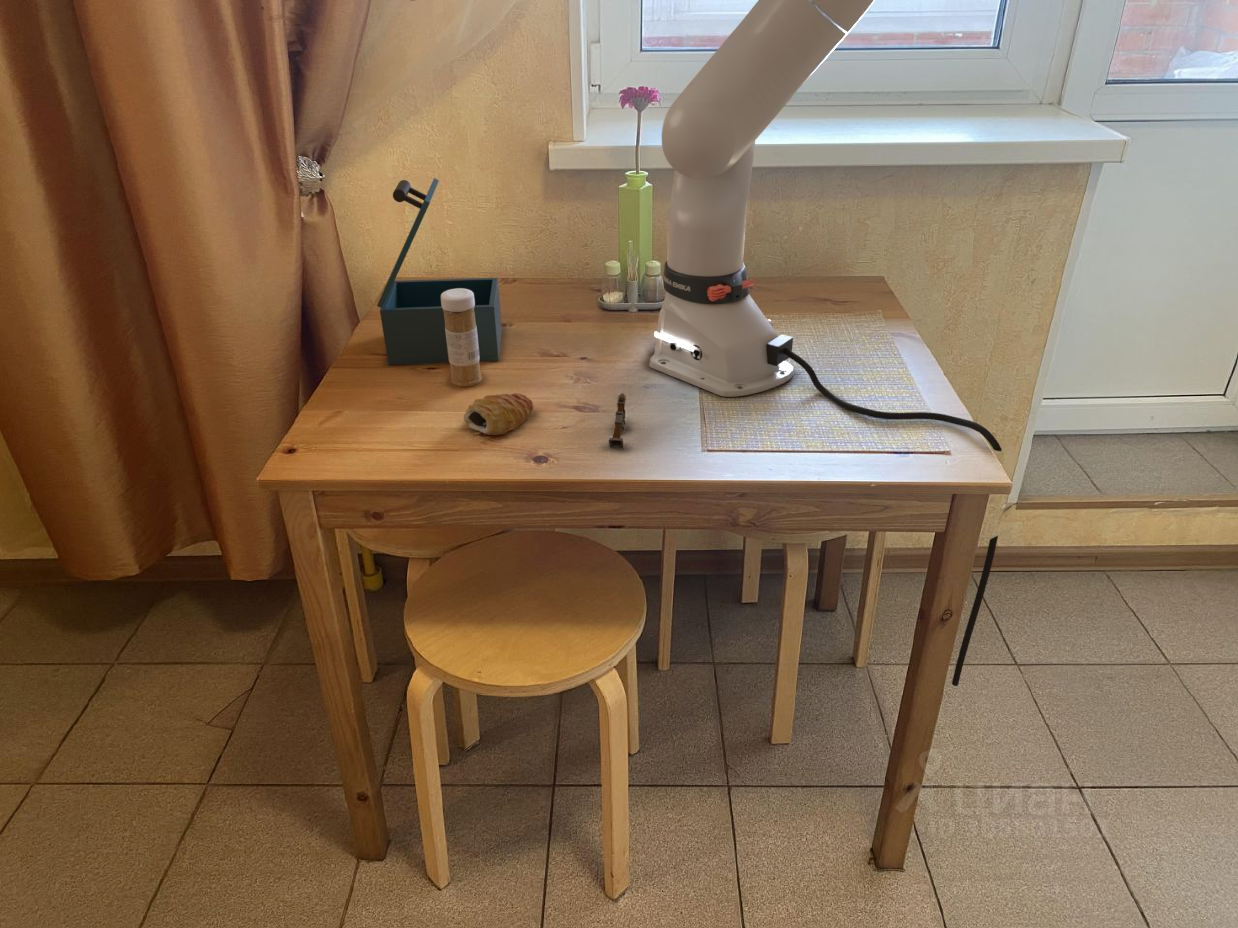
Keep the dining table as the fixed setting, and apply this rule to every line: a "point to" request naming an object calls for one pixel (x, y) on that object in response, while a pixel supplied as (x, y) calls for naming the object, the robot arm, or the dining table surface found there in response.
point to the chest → (436, 320)
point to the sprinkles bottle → (461, 336)
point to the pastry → (498, 413)
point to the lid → (401, 196)
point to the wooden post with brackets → (618, 424)
